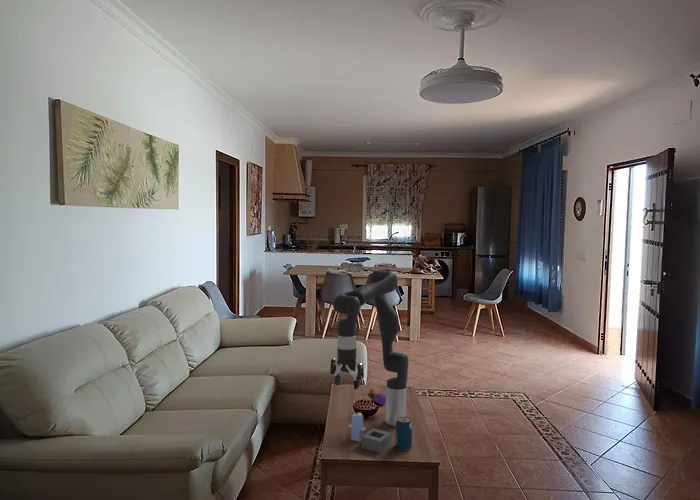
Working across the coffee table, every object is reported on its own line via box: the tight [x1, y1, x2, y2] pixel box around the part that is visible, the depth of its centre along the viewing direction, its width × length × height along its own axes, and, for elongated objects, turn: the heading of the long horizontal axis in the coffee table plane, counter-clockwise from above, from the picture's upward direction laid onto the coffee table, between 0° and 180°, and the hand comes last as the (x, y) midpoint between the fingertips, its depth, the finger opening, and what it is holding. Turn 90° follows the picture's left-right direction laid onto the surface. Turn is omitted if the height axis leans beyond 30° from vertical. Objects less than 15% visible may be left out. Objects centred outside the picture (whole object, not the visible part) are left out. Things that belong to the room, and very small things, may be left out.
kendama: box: [369, 387, 386, 406], centre depth 262 cm, size 6×6×20 cm
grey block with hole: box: [360, 428, 392, 454], centre depth 206 cm, size 10×9×5 cm
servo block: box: [347, 412, 367, 442], centre depth 212 cm, size 8×3×12 cm, turn 59°
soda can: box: [394, 416, 413, 451], centre depth 205 cm, size 7×7×12 cm
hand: (346, 387), depth 192 cm, fingers open, 8 cm apart
